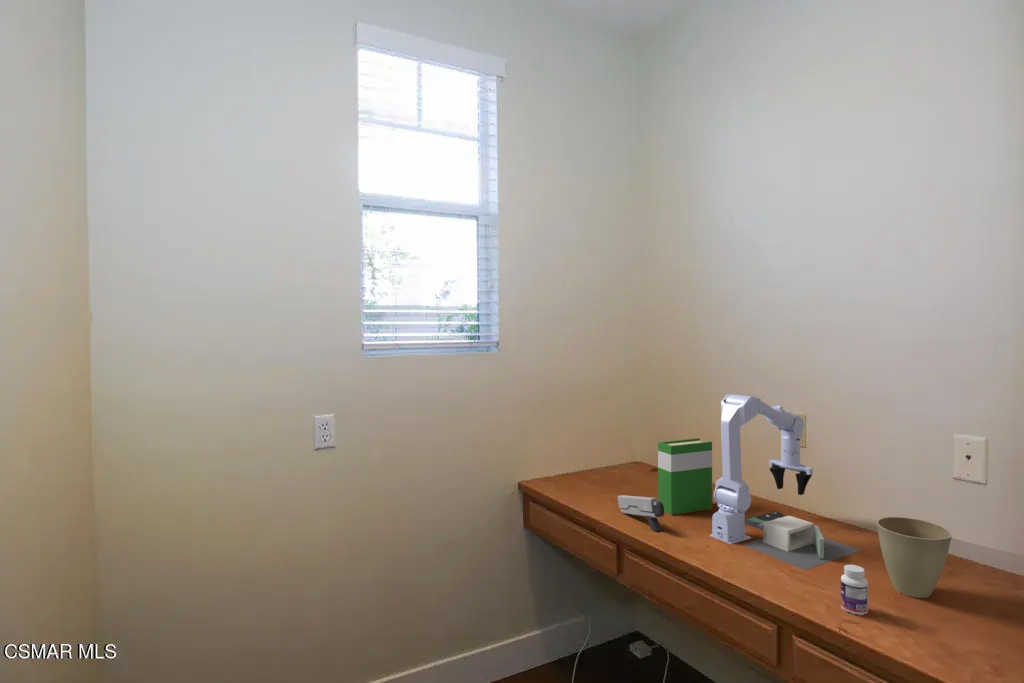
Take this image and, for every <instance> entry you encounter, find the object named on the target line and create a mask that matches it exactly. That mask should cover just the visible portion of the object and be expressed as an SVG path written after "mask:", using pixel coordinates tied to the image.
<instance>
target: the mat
mask: <svg viewBox="0 0 1024 683" xmlns="http://www.w3.org/2000/svg"><path fill="white" fill-rule="evenodd" d="M823 538H824V545H825V546H827V550H824V559H821V558H819V555H818V552H817V550H816V547H815V544H814V543H813V544H810V545H807V546H803V547H800V548H797V549H794V550H791V551H785V550H782V549H780V548H777V547H774V546H772V545H769V544H767V543H764V542H763V538H760V539H757V540H753V541H749V542H746V543H743V544H741V545H742V546H744V547H746V548H749V549H751V550H755V551H756V552H759V553H760V554H761V553H762V554H764V555H766V556H769V557H770V558H774V559H776V560H778V561H781V562H784V563H786V564H789V565H791V566H794V567H796V568H799V569H801V570H804V571H806V570H810V569H813V568H815V567H818V566H820V565H824V564H827V563H829V562H832V561H835V560H839V559H841V558H843V557H847V556H849V555H852V554H855V553H858V552H861V551H862V549H859V548H857V547H855V546H850V545H847V544H845V543H841V542H839V541H836V540H833V539H829V538H827V537H824V536H823Z"/></svg>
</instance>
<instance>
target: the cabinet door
mask: <svg viewBox="0 0 1024 683" xmlns="http://www.w3.org/2000/svg"><path fill="white" fill-rule="evenodd" d="M823 537H824V536H823V534H822V531H821V529H820V527H819V525H818V524H817V525H816V524H814V544H815V547H816V550H817V552H818V555H819V558H821V559H824V550H827V546H825V545H824V538H825V537H824V538H823Z"/></svg>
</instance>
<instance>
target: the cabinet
mask: <svg viewBox="0 0 1024 683" xmlns="http://www.w3.org/2000/svg"><path fill="white" fill-rule="evenodd" d="M784 516H785V517H782V518H778V519H774V520H771V521H767V522H763V530H762V532H763V533H762V534H763V538H762V539H763V542H764V543H767V544H769V545H772V546H774V547H777V548H780V549H782V550H785V551H791V550H794V549H797V548H800V547H803V546H807V545H810V544H813V543H814V525H815V524H814V522H810V521H808V520H804V519H801V518H799V517H795V516H792V515H788V516H786V515H784Z"/></svg>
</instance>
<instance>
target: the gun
mask: <svg viewBox="0 0 1024 683" xmlns="http://www.w3.org/2000/svg"><path fill="white" fill-rule="evenodd" d="M617 502H618V508H619V509H620V513H621V512H622V514H627V515H633V516H640V517H645V518H646V520H647V522H648V524H649V527H650V528H651V530H652V531H654V532H660V531H662V527H661V524H660V522H659V520H658V518H661V517H664V516H665V512H664V506H663V504H662V502H661V501H658V497H647V496H639V495H638V496H635V495H625V494H622V495H617Z"/></svg>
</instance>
